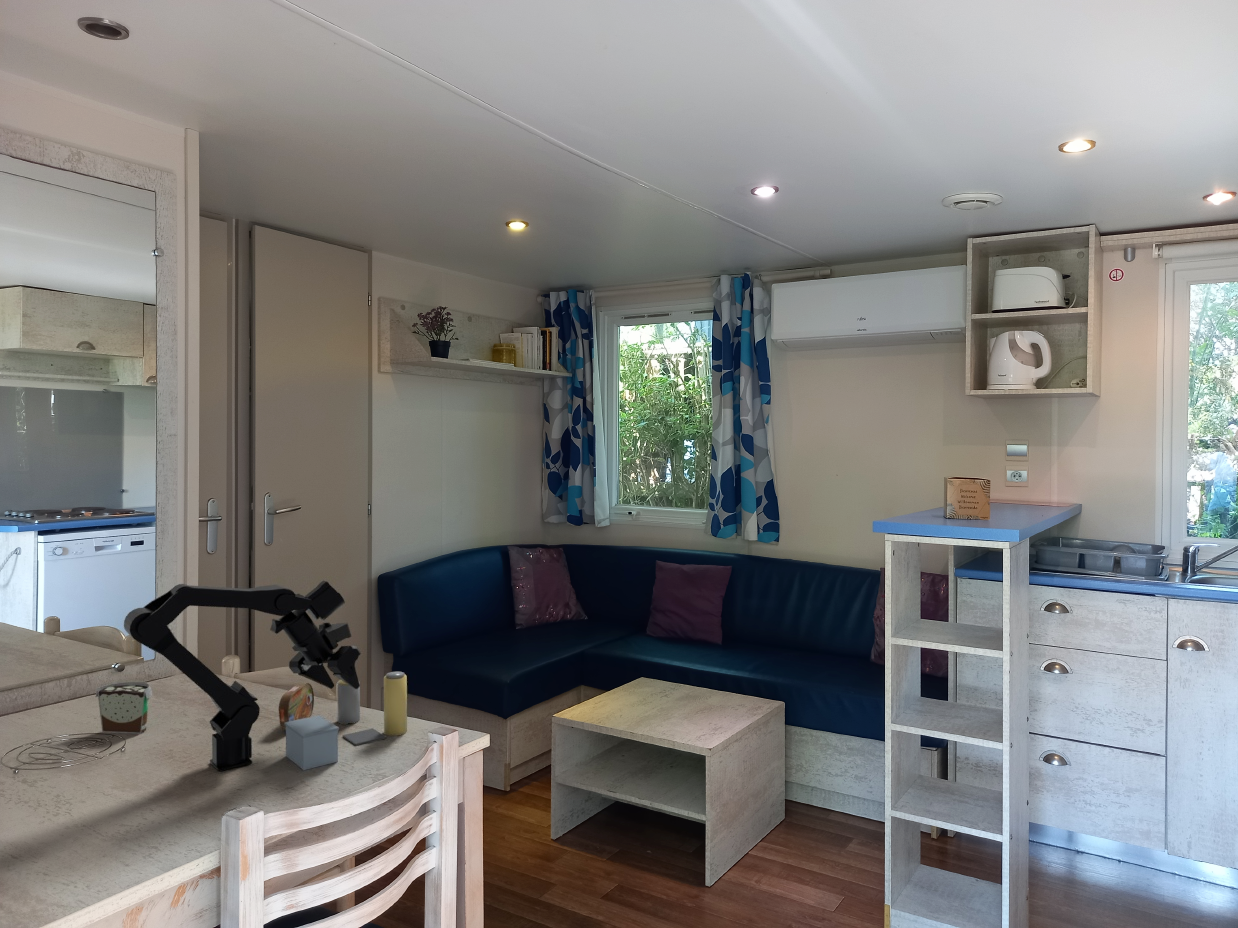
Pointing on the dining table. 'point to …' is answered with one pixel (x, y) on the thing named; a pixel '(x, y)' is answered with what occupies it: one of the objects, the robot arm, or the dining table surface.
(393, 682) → the cylinder
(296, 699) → the tin
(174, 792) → the dining table surface
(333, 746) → the block
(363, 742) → the pad
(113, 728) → the food container
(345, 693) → the cylinder
